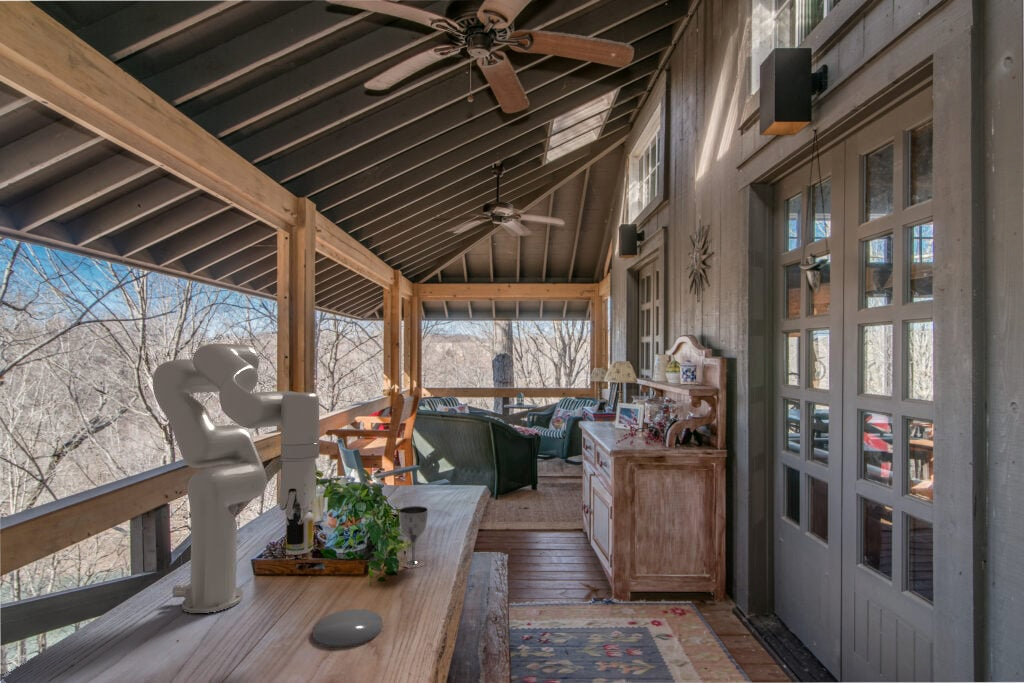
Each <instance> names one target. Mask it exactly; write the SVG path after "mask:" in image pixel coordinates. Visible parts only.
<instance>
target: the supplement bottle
mask: <svg viewBox="0 0 1024 683" xmlns="http://www.w3.org/2000/svg"><path fill="white" fill-rule="evenodd" d="M299 506H300V505H299ZM299 506H295V508H299ZM309 510H310V504H309V505H308V506H307V507H305V508H304V509H303V518H302V523H304V542H303V543H302V544H293V545H288V544H287V518H286V517H285V518H286V520H285V521H286V522H285V552H286V553H287V554H289V555H302V554H306V553H309V552H311V551H312V550H313V549H314V514H313V512H312V513H311V512H309ZM295 513H297V515H299V512H295Z"/></svg>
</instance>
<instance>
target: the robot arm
mask: <svg viewBox="0 0 1024 683" xmlns="http://www.w3.org/2000/svg"><path fill="white" fill-rule="evenodd" d="M192 356H193V357H192V358H191V359H189V358H187V359H186V358H185V359H184V358H183V359H182V358H181V359H174V360H173V359H172V360H169V361H165V362H162V363H161V364H159V365H158V366H157V367H156V368H155V370H154V373H153V375H152V376H153V377H152V391H153V395H154V398H155V400H156V403H157V405H158V406H159V408H160V409H161V411H162V412H163V414H164V415H165V417H166V418H167V420H168V422H169V425H170V427H171V430H172V433H173V435H174V438H175V441H176V444H177V447H178V449H179V452H180V455H181V458H182V460H183V461H184V463H185V464H186V465H187V466H189V467H191V468H193V469H194V468H197V469H198V468H199V469H200V468H204V469H201V470H199V471H197V472H195V473H194V474H192V476H191V477H190V479H189V481H188V483H187V487H186V490H187V498H188V505H189V510H190V525H191V526H190V527H191V528H190V530H191V534H190V535H191V537H190V538H191V540H190V541H191V542H190V573H189V574H190V576H189V577H190V582H189V583H188V584H187V585H185V584H184V585H183V584H181V585H180V584H178V585H174V586H173V588H172V597H173V598H184V600H183V601H182V603H181V609H182V611H183V610H184V611H183V612H185V613H187V612H189V613H188V614H190V613H207V612H213V611H218V612H220V611H219V610H222V611H224V610H223V609H225V610H228V609H230V608H232V607H234V606H236V605H238V604H239V603H240V602H241V601H242V600H243V599H244V592H243V591H244V590H242V589H240V588H239V587H237V560H238V559H237V556H238V555H237V554H238V553H237V551H238V550H237V549H238V522H237V520H236V517H235V516H234V515H233V514H232V513H231V511H230V510H229V506H232V505H235V504H240V503H244V502H248V501H250V500H254V499H255V500H256V499H257V498H259V497H260V496H262V495H263V494H264V493H265V491H266V489H267V484H268V480H267V479H268V478H267V473H266V470H265V467H264V464H263V462H262V460H261V457H260V454H259V452H258V450H257V447H256V445H255V442H254V440H253V438H252V436H251V434H250V433H249V431H248V430H247V429H251V430H253V429H261V428H268V427H269V428H272V427H280V461H282V466H281V467H282V468H281V473H280V488H279V509H280V510H281V511H285V512H284V513H285V515H286V517H285V518H287V544H288V545H293V544H302V543H303V542H304V523H302V518H303V509H304V508H305V507H307V506H308V505H309V504H310V510H309V512H311V513H312V514H313V502H314V500H315V499H316V496H317V471H316V470H317V468H316V466H317V465H316V460H317V459H318V458H320V399H319V396H318V394H317V393H314V392H296V391H293V390H292V391H291V390H290V391H289V390H281V391H280V390H279V391H273V390H272V391H259V392H255V391H254V392H253V390H254V389H255V388H256V386H257V385H258V381H259V374H258V369H259V365H260V358H259V355H258V353H257V351H256V350H255V349H254V348H253V347H251V346H250V345H247V344H243V343H209V344H204V345H202V346H200V347H199V348H198V349H197V350H196V351H195V352H194V353H193V355H192ZM216 392H217V393H219V394H218V399H219V404H220V407H221V410H222V412H223V413H224V414H225V415H226V417H228V418H229V419H230V420H232V421H233V422H234V423H235V424H228V425H219V426H218V425H216V424H214V422H213V420H212V418H211V415H210V412H209V411H208V408H206V406H205V405H203V404H202V403H201V402H200V401H199V400H198V399H196V398H194V397H193V396H191V394H198V393H201V394H202V393H216ZM236 424H237V425H236ZM207 467H208V468H207ZM299 505H300V506H299ZM295 506H299V508H295ZM295 512H299V515H297V513H295ZM229 607H230V608H229ZM227 608H228V609H227Z"/></svg>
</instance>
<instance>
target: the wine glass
mask: <svg viewBox="0 0 1024 683" xmlns="http://www.w3.org/2000/svg"><path fill="white" fill-rule="evenodd" d="M428 512H429V511H428V507H426V506H422V505H420V506H419V505H411V506H405V507H402V508H399V511H398V518H399V519H398V520H399V527H400V530H401V532H402V533H403V535H404V536H405V537H406V538H407V540H408V542H409V543H410V547H411V560H409V559H407V560H408V561H406V562H405V563H406V564H407V565H408V564H409V565H415V564H418V563H419V562H420V561H419V560H416V559H417V558H415V557H416V556H415V555H416V552H415V551H416V544H417V541H418V540H419V538H420V537H421V535H423V533H424V531H426V527H427V524H428V517H429V516H428V515H429V513H428Z"/></svg>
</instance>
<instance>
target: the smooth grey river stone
mask: <svg viewBox="0 0 1024 683" xmlns="http://www.w3.org/2000/svg"><path fill="white" fill-rule="evenodd" d="M382 630H383V618H382V616H381V615H380V614H379V613H377V612H375V611H373V610H369V609H361V608H360V609H358V608H357V609H356V608H355V609H346V610H341V611H336V612H333V613H330V614H328V615H326V616H324V617H322V618H321V619H319V620H318V621H317V622H315V624H314V626H313V629H312V637H313V638H312V639H313V640H314V641H315V643H317V644H318V643H319V644H318V645H320V644H321V646H323V647H326V646H327V648H341V649H342V648H349V646H350V647H354V645H355V646H359V645H363V644H364V643H367V642H370V641H371V640H373V639H374V638H376V637H377V636H379V635H380V633H381V632H382Z"/></svg>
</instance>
